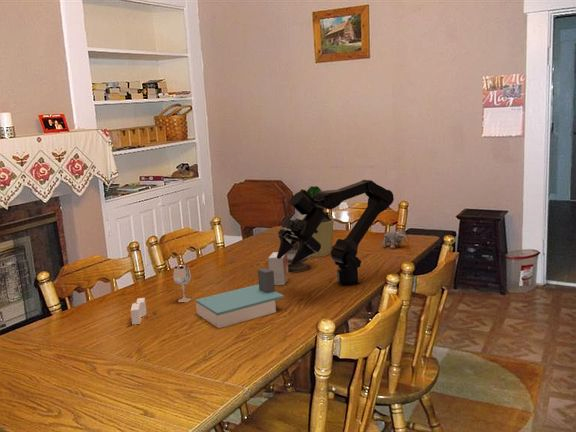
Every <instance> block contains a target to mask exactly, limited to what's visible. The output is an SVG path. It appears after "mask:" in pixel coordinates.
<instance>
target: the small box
mask: <svg viewBox="0 0 576 432" xmlns="http://www.w3.org/2000/svg"><path fill="white" fill-rule="evenodd" d="M277 254H278V251H277V252H276V251H275V252H274V251H272V253H271V254H270V255H269V257H268V258H267V262H268V269H270V270H273V272H274V286H285V285H286V283H288V281H289V279H290V278H289V271H288V265H289V264H288V260H287V253H286V254H285V255H284V256H283V257H281V258H280V259H278V258H277Z"/></svg>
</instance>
